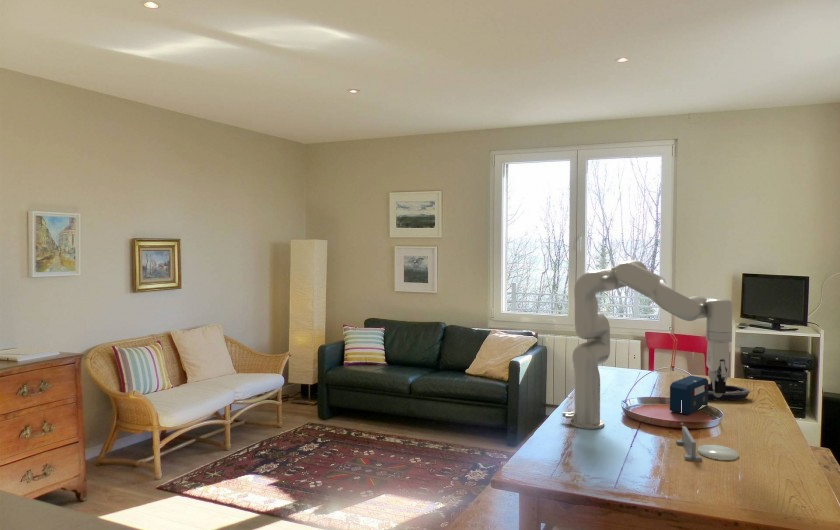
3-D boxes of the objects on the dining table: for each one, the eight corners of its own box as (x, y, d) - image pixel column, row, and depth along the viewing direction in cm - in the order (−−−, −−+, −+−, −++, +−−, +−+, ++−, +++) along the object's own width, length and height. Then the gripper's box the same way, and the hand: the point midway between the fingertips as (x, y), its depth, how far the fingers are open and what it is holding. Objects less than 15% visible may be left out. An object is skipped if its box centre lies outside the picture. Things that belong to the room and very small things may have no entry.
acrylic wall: (685, 459, 191) (685, 441, 191) (676, 442, 207) (676, 425, 207) (701, 461, 190) (702, 442, 190) (691, 443, 206) (691, 426, 205)
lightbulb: (730, 400, 192) (731, 367, 191) (710, 399, 193) (711, 366, 192) (725, 395, 198) (725, 362, 197) (705, 394, 199) (705, 362, 198)
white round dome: (702, 458, 192) (702, 456, 192) (694, 445, 204) (694, 443, 204) (742, 461, 189) (742, 459, 189) (732, 448, 201) (732, 446, 201)
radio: (688, 417, 235) (689, 367, 233) (667, 412, 241) (668, 364, 240) (711, 406, 248) (712, 359, 247) (690, 402, 255) (691, 356, 254)
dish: (753, 404, 251) (753, 393, 251) (675, 399, 260) (675, 388, 260) (745, 394, 266) (745, 383, 266) (671, 389, 275) (671, 379, 275)
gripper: (700, 331, 203) (699, 383, 204) (712, 340, 187) (711, 397, 188) (724, 332, 202) (723, 384, 203) (738, 341, 185) (737, 398, 186)
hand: (717, 390), depth 195 cm, fingers closed on lightbulb, 4 cm apart
